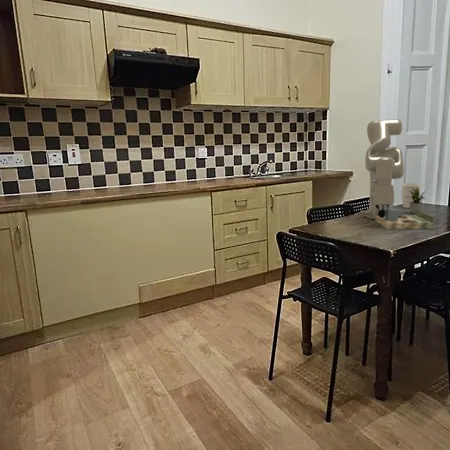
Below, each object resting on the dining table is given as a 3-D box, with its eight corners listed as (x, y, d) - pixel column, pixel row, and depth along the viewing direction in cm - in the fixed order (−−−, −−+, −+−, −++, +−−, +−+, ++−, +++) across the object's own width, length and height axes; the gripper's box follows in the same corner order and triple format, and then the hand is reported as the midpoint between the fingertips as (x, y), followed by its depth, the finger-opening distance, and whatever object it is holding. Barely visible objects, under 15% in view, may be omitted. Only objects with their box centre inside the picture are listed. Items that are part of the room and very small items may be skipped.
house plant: (395, 211, 230) (397, 184, 227) (417, 210, 231) (419, 183, 228) (409, 215, 216) (411, 187, 213) (431, 214, 217) (434, 186, 214)
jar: (403, 208, 238) (404, 185, 235) (398, 205, 248) (400, 183, 244) (420, 208, 236) (422, 185, 233) (415, 205, 246) (417, 183, 243)
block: (387, 220, 191) (388, 210, 189) (384, 218, 195) (385, 209, 194) (398, 220, 190) (398, 210, 189) (394, 218, 195) (395, 208, 194)
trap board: (387, 229, 184) (388, 217, 183) (375, 221, 204) (376, 210, 202) (433, 228, 182) (434, 216, 181) (417, 220, 201) (418, 209, 200)
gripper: (370, 183, 186) (368, 219, 190) (401, 182, 185) (398, 218, 189) (366, 181, 194) (364, 216, 198) (396, 181, 192) (393, 215, 196)
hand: (381, 217), depth 193 cm, fingers closed
